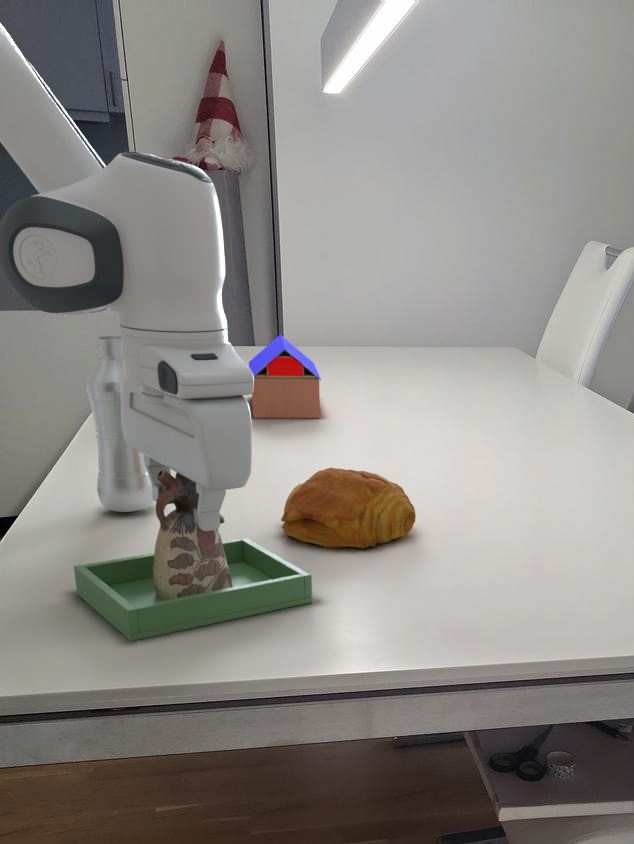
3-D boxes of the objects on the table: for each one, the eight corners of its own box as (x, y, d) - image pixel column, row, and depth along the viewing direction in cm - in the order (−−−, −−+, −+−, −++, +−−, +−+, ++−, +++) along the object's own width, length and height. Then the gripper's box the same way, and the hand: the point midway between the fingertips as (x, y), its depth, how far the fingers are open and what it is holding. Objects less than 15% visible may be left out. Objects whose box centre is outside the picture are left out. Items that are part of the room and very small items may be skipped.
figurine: (243, 598, 97) (236, 472, 92) (166, 610, 93) (156, 480, 88) (219, 575, 102) (211, 455, 98) (146, 585, 99) (135, 461, 94)
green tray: (130, 641, 88) (127, 610, 87) (76, 594, 98) (73, 565, 97) (312, 602, 98) (311, 574, 97) (247, 563, 108) (245, 537, 107)
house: (251, 418, 178) (248, 348, 173) (250, 397, 196) (247, 334, 191) (321, 418, 180) (320, 349, 176) (314, 398, 198) (312, 335, 194)
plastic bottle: (169, 509, 125) (156, 338, 117) (123, 521, 119) (107, 343, 112) (132, 500, 128) (117, 332, 120) (87, 511, 123) (68, 337, 115)
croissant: (331, 524, 129) (324, 460, 127) (436, 530, 121) (430, 461, 119) (252, 550, 117) (243, 479, 115) (362, 557, 109) (354, 482, 107)
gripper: (97, 345, 95) (110, 492, 100) (190, 381, 80) (199, 550, 86) (163, 343, 99) (172, 485, 104) (264, 377, 84) (267, 539, 89)
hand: (185, 515), depth 95 cm, fingers open, 8 cm apart
